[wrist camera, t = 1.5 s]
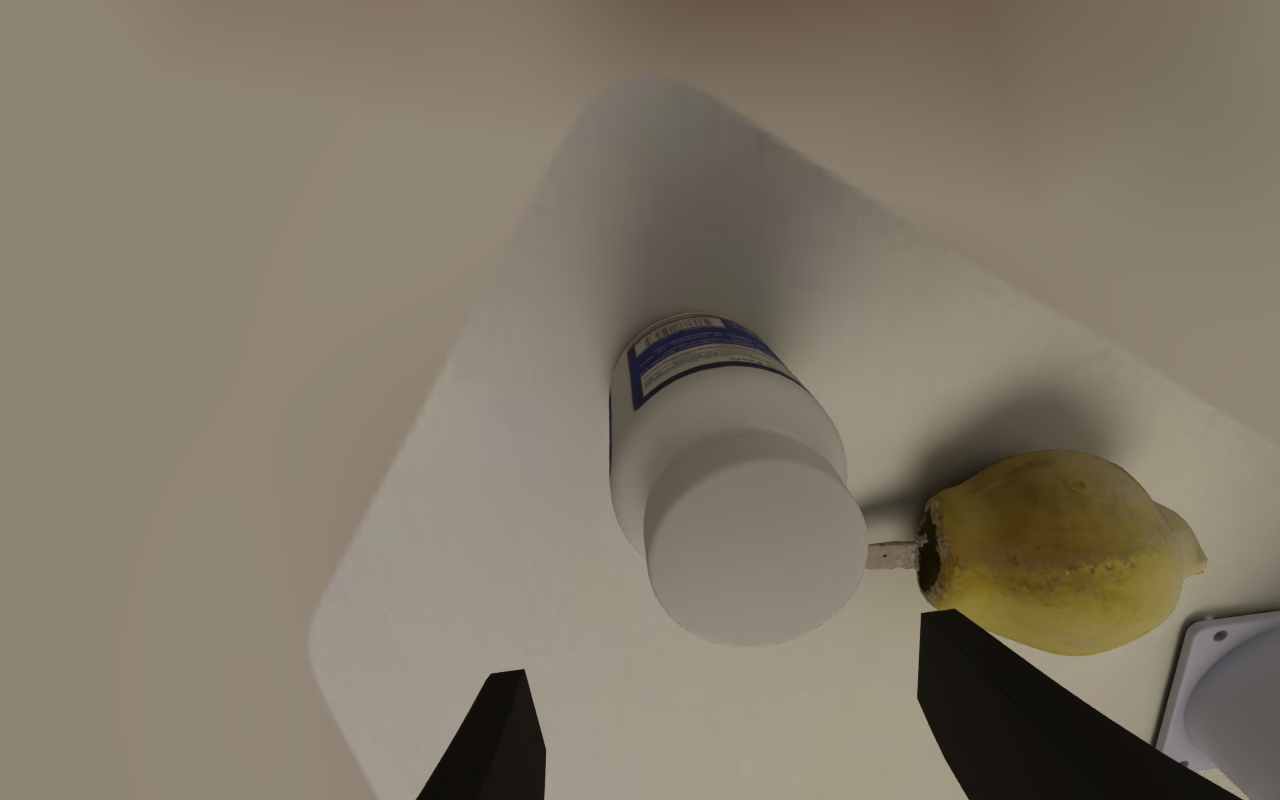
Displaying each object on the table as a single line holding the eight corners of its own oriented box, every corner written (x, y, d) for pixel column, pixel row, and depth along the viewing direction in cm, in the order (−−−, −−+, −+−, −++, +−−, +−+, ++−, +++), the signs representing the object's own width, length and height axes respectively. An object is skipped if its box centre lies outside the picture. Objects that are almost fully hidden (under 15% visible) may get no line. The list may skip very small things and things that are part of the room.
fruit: (810, 466, 20) (1144, 392, 18) (833, 566, 24) (1113, 514, 22) (859, 627, 16) (1309, 553, 14) (877, 720, 19) (1234, 672, 17)
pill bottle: (736, 484, 20) (824, 704, 12) (587, 439, 19) (570, 642, 11) (804, 339, 18) (962, 480, 10) (644, 282, 18) (673, 385, 9)
